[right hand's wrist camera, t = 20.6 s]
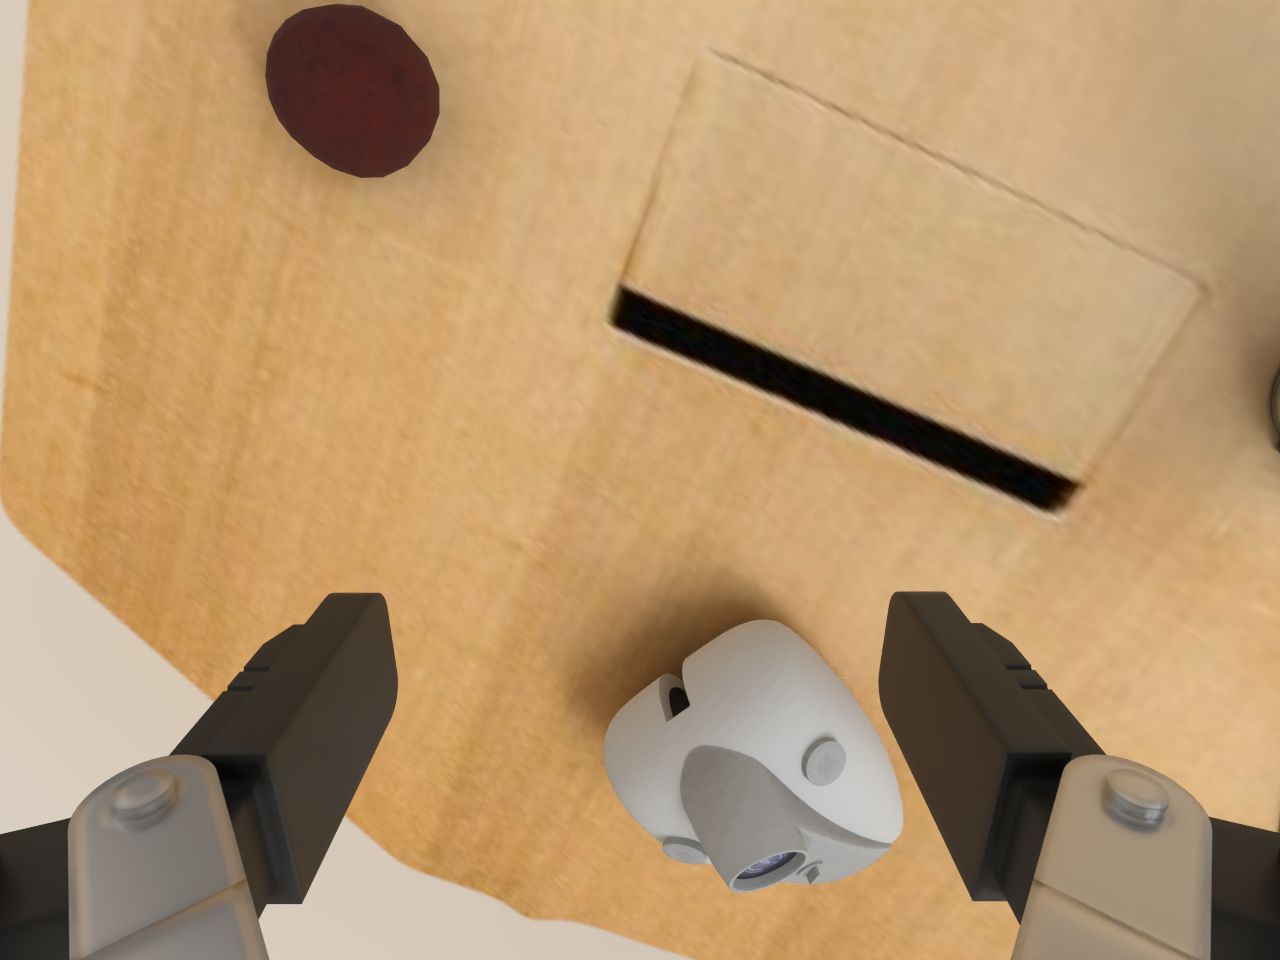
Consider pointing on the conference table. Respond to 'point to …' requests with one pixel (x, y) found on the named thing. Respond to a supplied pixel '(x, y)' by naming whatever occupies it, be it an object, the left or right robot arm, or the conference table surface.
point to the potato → (352, 89)
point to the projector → (756, 764)
